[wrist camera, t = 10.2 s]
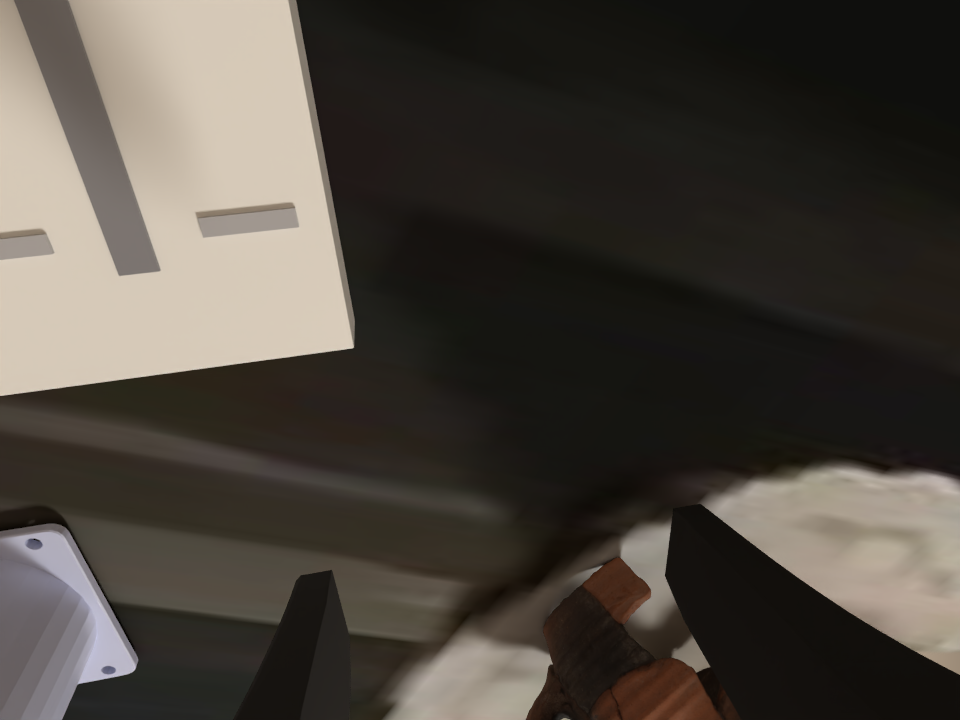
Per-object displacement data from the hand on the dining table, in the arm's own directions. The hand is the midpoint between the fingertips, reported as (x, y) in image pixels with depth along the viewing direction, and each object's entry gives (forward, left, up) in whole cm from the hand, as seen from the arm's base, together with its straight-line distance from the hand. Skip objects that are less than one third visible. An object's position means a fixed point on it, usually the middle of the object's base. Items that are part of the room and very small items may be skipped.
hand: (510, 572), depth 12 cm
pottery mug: (+7, -16, -10) cm, 20 cm away
